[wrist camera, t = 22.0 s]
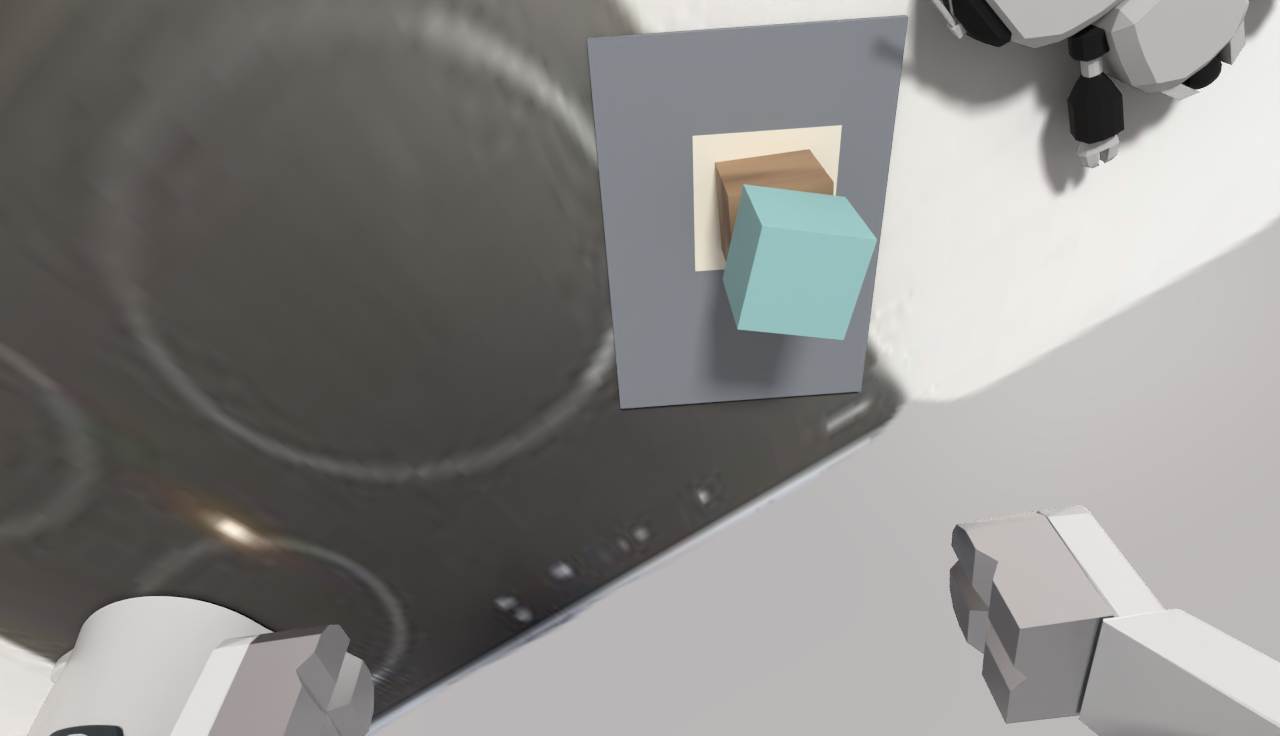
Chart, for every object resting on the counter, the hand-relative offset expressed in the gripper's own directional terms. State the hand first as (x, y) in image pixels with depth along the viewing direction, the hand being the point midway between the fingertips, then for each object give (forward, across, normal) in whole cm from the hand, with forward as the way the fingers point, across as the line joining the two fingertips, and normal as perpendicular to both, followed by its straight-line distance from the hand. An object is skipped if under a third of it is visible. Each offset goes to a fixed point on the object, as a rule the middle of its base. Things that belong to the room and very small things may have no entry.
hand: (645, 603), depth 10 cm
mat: (+29, -5, +9) cm, 31 cm away
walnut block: (+29, -6, +7) cm, 30 cm away
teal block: (+24, -6, +7) cm, 26 cm away
